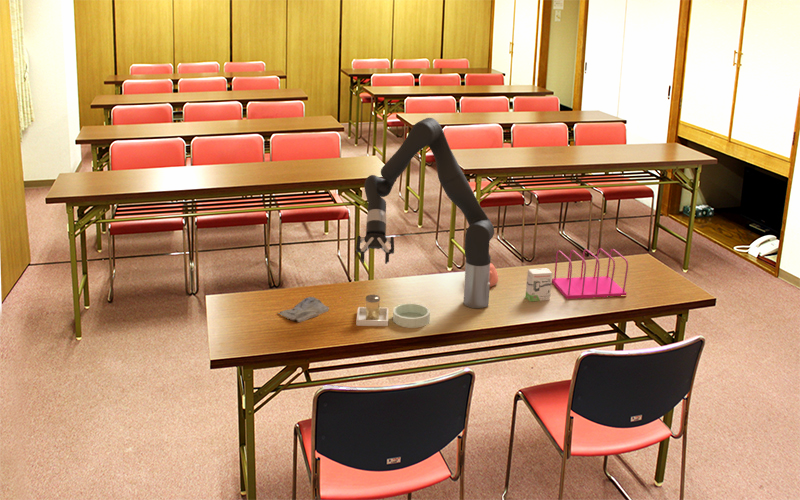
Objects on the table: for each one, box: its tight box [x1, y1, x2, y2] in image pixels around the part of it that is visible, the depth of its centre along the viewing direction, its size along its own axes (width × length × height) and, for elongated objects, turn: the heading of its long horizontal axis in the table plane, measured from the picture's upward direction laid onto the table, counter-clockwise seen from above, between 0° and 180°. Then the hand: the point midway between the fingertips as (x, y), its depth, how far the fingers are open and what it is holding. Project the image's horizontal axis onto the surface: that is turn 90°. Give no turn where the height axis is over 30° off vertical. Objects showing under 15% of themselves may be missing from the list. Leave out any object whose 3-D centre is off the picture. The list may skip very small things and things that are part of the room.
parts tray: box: [355, 306, 389, 327], centre depth 259 cm, size 11×11×2 cm
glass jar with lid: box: [365, 294, 381, 320], centre depth 257 cm, size 5×5×8 cm
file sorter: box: [551, 247, 629, 300], centre depth 287 cm, size 17×25×16 cm
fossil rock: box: [277, 296, 330, 323], centre depth 265 cm, size 18×15×2 cm
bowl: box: [392, 302, 431, 329], centre depth 258 cm, size 13×13×4 cm
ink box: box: [524, 267, 553, 302], centre depth 278 cm, size 9×5×12 cm, turn 102°
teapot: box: [489, 262, 499, 288], centre depth 293 cm, size 12×18×10 cm
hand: (374, 262), depth 265 cm, fingers open, 8 cm apart
